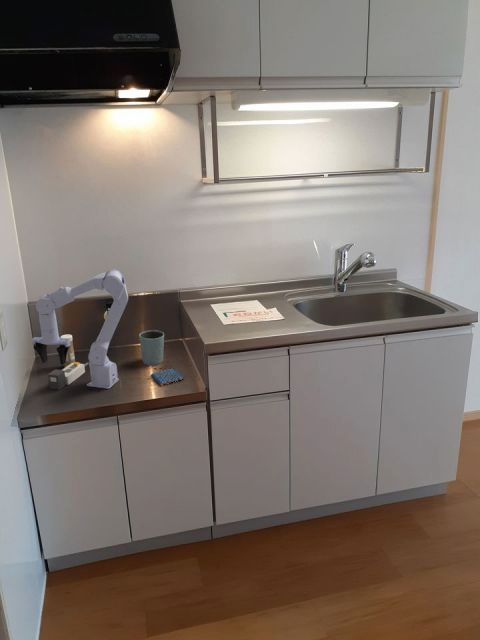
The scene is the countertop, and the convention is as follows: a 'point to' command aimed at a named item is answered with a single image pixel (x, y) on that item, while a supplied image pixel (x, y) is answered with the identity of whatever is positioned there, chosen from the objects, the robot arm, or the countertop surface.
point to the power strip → (74, 371)
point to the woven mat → (166, 376)
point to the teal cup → (152, 346)
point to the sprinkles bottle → (69, 351)
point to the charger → (57, 379)
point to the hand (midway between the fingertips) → (54, 362)
